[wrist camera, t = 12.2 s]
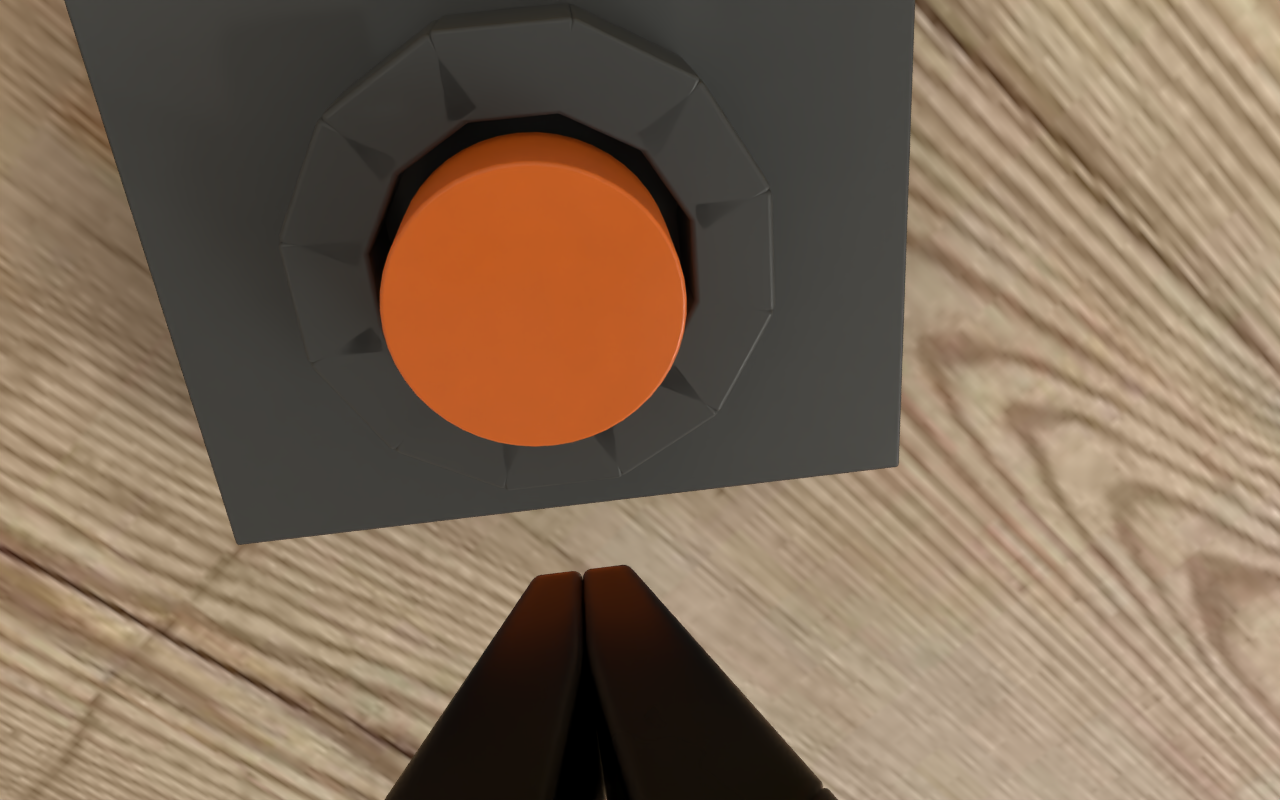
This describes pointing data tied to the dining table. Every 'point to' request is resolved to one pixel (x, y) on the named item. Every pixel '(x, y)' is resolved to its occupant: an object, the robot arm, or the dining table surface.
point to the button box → (458, 118)
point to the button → (533, 291)
